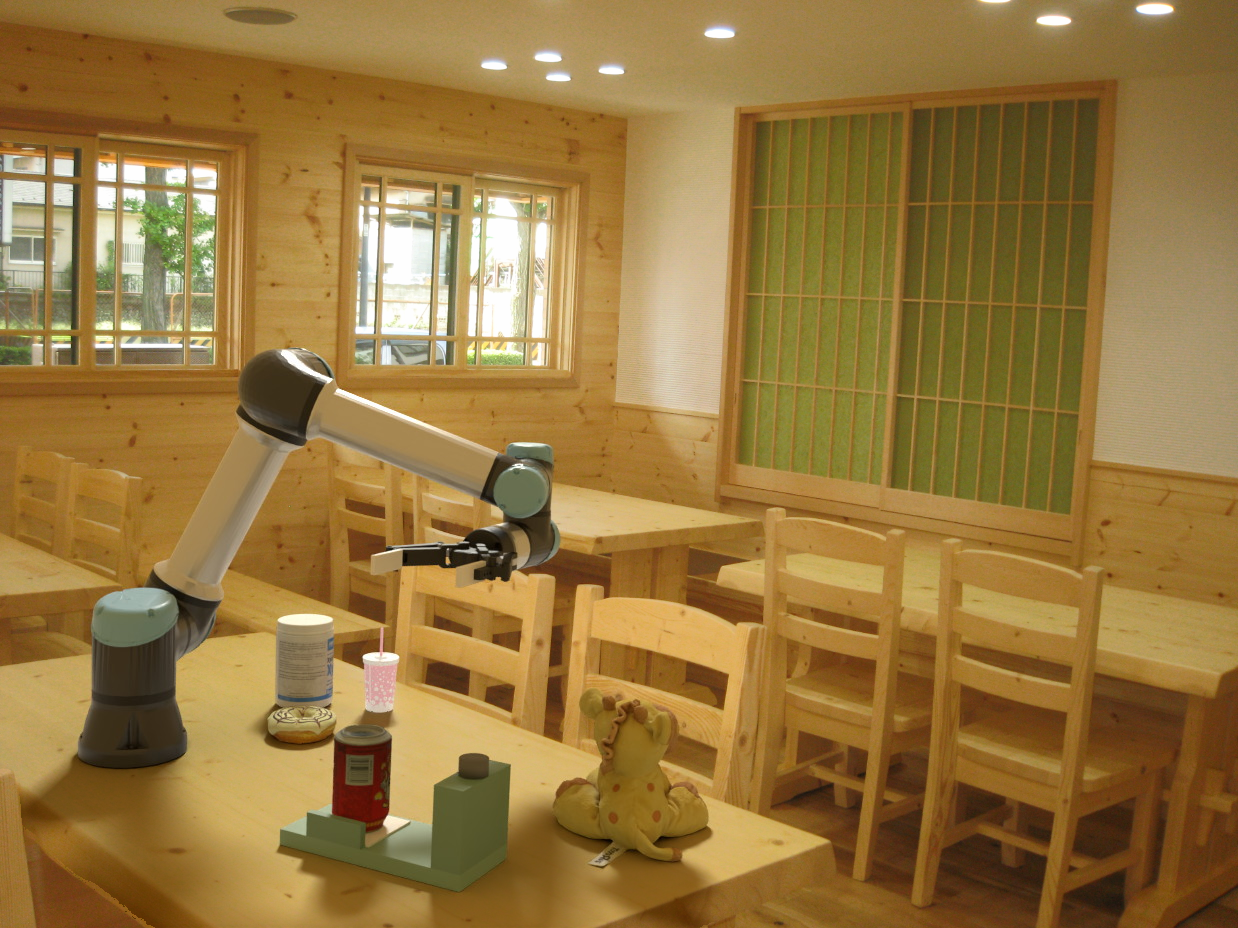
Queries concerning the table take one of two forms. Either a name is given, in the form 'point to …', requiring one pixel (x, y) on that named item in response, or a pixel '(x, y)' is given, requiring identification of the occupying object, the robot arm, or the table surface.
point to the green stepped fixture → (424, 831)
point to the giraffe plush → (630, 782)
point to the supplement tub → (304, 660)
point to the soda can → (362, 774)
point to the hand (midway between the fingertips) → (414, 571)
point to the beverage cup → (380, 679)
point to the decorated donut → (301, 724)
